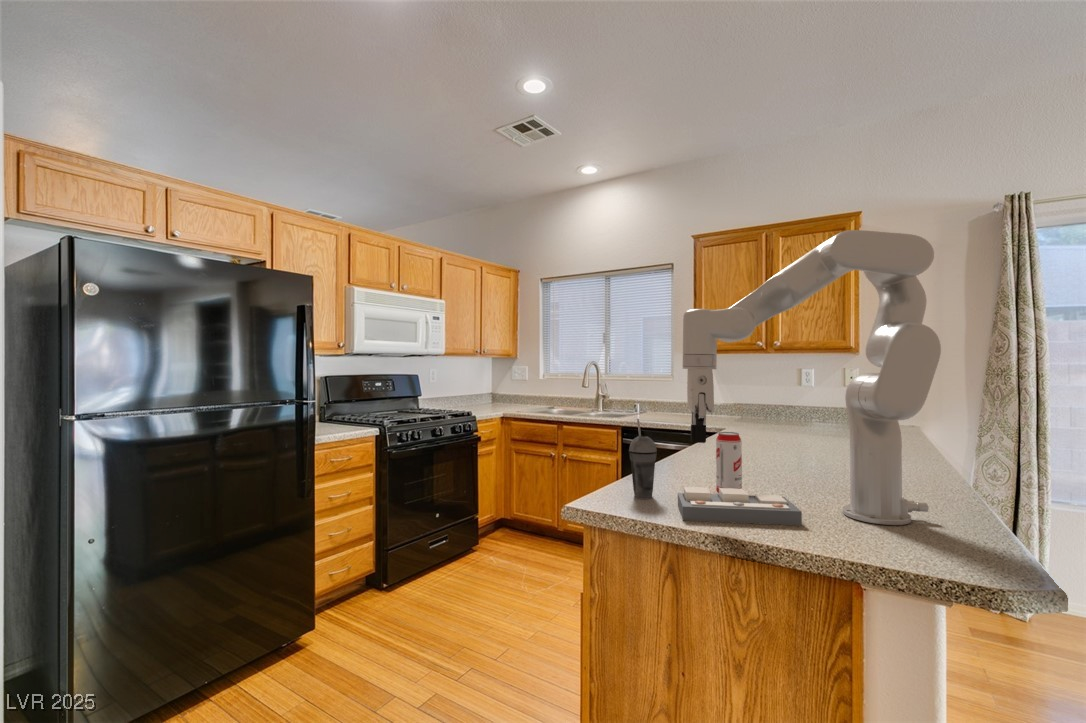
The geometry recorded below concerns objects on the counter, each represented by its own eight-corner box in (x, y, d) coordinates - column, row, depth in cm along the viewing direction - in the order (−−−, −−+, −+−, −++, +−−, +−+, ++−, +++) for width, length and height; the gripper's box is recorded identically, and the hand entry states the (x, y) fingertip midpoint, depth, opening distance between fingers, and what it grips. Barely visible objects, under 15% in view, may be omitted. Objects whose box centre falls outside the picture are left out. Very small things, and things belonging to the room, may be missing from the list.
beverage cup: (660, 500, 125) (659, 420, 125) (631, 500, 125) (630, 420, 125) (654, 492, 132) (653, 417, 132) (626, 492, 132) (626, 417, 132)
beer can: (744, 493, 130) (743, 432, 131) (739, 499, 125) (738, 435, 125) (719, 490, 134) (719, 431, 134) (713, 496, 129) (713, 433, 129)
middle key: (743, 501, 116) (743, 488, 116) (748, 508, 111) (748, 494, 111) (719, 500, 117) (718, 487, 117) (723, 507, 112) (723, 493, 112)
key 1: (707, 500, 118) (707, 487, 118) (711, 506, 112) (711, 493, 112) (683, 499, 119) (683, 486, 119) (686, 505, 113) (686, 492, 113)
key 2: (780, 508, 115) (779, 495, 115) (787, 515, 110) (787, 501, 110) (755, 507, 116) (755, 494, 116) (761, 514, 111) (761, 500, 111)
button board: (784, 509, 116) (784, 494, 116) (801, 525, 104) (801, 509, 104) (677, 505, 120) (677, 490, 120) (682, 520, 108) (682, 504, 108)
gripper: (722, 362, 108) (720, 448, 108) (711, 363, 122) (710, 438, 122) (686, 362, 109) (684, 446, 109) (679, 362, 124) (678, 437, 124)
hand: (698, 441), depth 116 cm, fingers closed
